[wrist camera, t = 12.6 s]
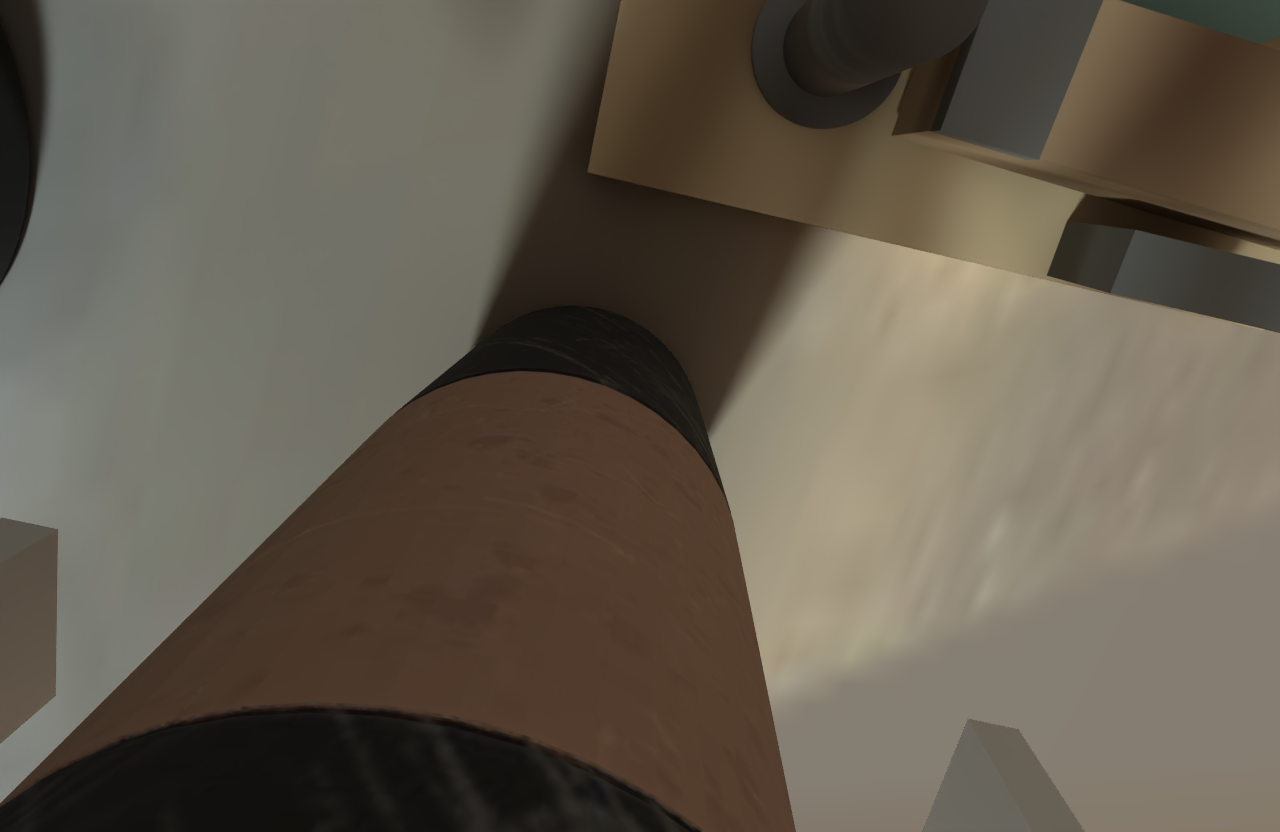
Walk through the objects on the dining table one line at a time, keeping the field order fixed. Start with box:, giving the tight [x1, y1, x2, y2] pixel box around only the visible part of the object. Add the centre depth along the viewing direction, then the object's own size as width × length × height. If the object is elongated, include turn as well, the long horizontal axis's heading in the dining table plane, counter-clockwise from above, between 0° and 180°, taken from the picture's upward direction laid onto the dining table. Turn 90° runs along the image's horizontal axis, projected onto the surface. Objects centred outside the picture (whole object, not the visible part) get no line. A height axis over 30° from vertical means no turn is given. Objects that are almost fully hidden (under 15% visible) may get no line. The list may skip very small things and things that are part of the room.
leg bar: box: [891, 0, 1280, 250], centre depth 17 cm, size 10×3×4 cm, turn 75°
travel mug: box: [0, 306, 796, 832], centre depth 14 cm, size 8×8×20 cm
